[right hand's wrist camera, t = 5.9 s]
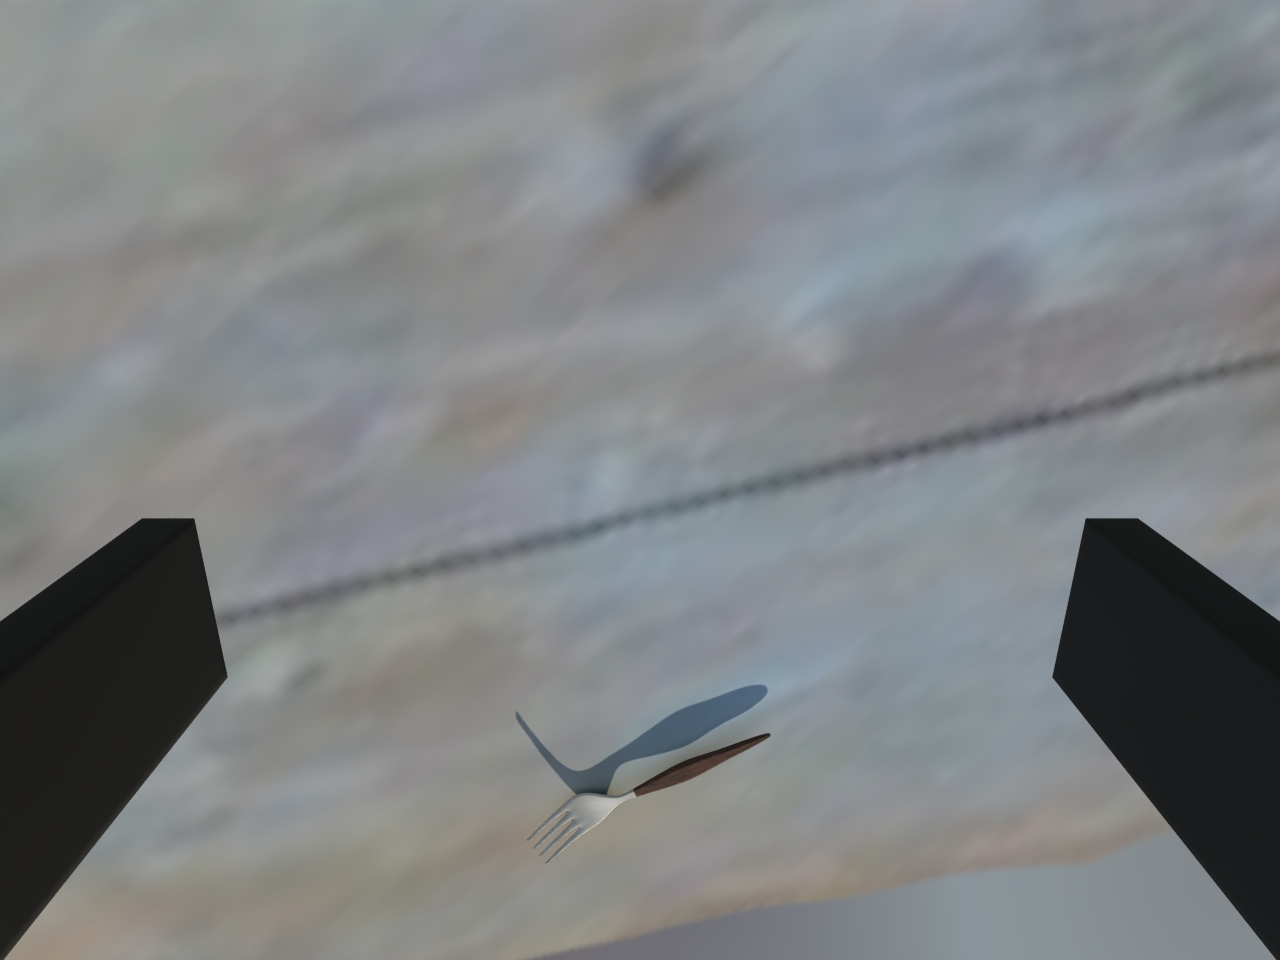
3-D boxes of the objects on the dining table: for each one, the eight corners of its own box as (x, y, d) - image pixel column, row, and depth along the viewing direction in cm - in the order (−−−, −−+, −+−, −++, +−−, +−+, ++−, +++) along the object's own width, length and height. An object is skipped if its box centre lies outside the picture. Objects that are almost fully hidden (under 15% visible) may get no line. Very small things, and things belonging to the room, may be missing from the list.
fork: (778, 744, 50) (783, 767, 48) (550, 842, 53) (547, 867, 51) (759, 712, 49) (764, 734, 48) (528, 814, 52) (524, 838, 50)
